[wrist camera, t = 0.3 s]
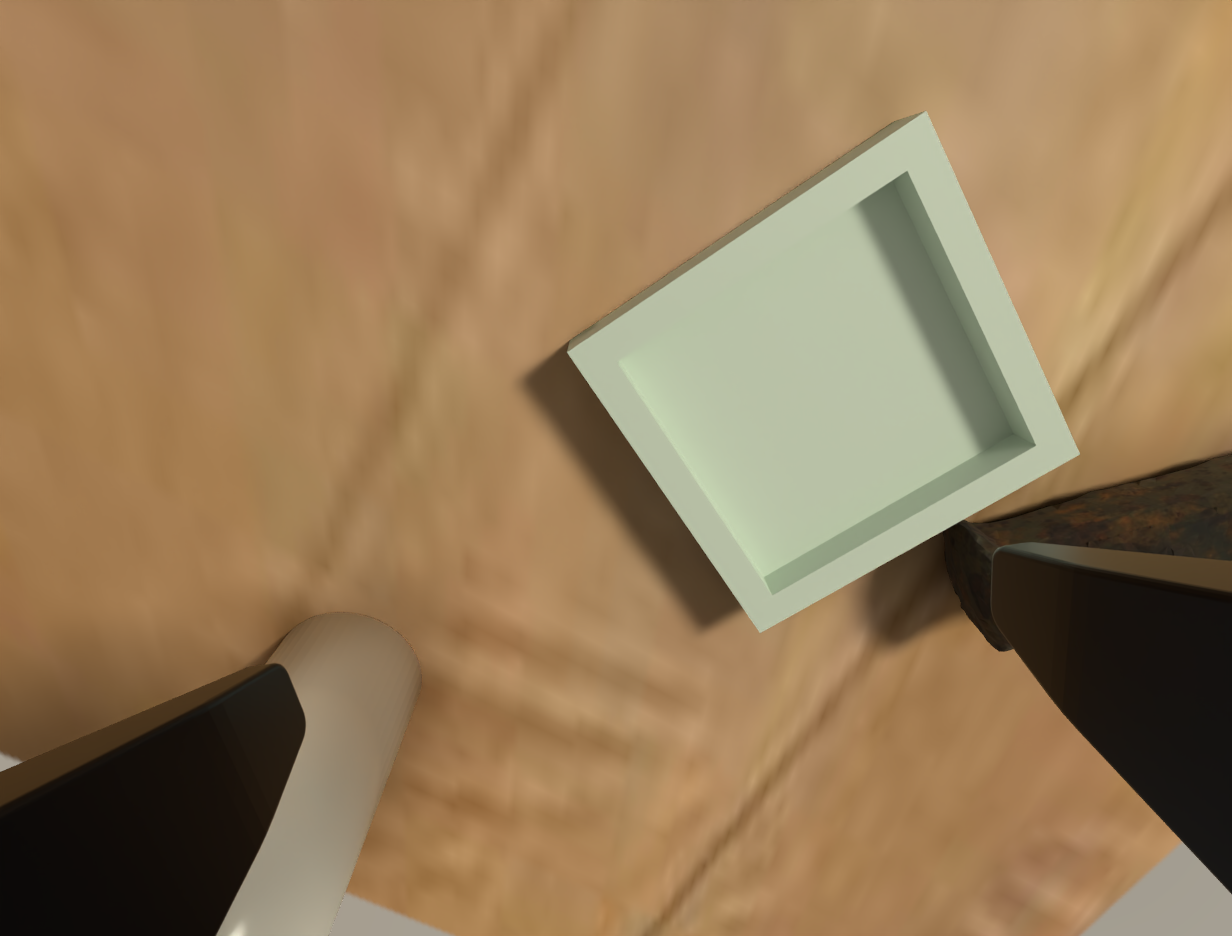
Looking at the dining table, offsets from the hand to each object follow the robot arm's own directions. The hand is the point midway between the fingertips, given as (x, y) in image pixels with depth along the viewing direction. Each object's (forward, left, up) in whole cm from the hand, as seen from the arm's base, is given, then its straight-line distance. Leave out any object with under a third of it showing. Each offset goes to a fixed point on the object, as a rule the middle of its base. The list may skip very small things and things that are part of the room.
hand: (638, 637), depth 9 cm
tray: (+4, +5, -14) cm, 15 cm away
